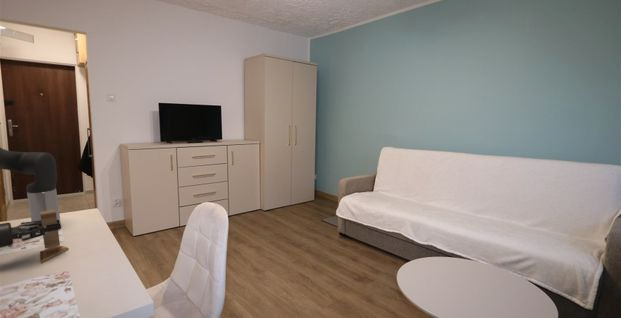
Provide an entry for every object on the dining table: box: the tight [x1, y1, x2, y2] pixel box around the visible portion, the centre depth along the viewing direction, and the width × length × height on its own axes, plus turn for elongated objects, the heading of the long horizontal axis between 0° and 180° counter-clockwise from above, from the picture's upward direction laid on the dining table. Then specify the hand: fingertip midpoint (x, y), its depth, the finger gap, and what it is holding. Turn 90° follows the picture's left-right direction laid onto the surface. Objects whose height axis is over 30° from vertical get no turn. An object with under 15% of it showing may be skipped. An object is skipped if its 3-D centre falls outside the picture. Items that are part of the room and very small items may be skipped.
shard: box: [39, 245, 69, 264], centre depth 109 cm, size 11×8×2 cm
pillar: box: [40, 210, 61, 250], centre depth 108 cm, size 4×4×12 cm
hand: (59, 224), depth 110 cm, fingers closed on pillar, 4 cm apart
